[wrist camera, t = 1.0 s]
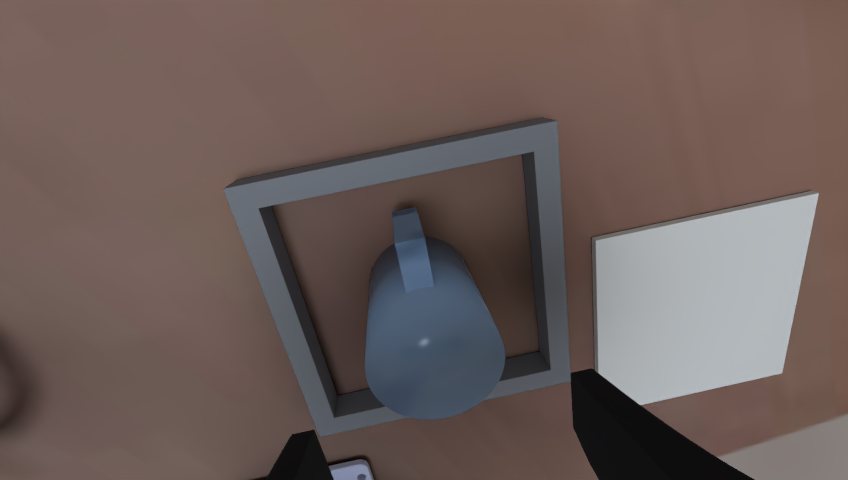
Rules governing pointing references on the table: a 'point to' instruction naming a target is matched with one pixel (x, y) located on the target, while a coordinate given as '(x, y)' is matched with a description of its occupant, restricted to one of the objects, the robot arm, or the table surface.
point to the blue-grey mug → (428, 328)
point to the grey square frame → (263, 191)
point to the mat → (699, 298)
